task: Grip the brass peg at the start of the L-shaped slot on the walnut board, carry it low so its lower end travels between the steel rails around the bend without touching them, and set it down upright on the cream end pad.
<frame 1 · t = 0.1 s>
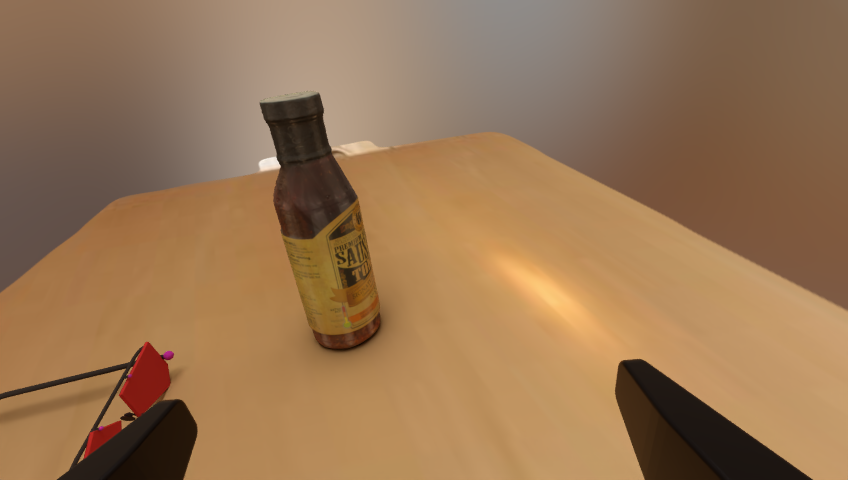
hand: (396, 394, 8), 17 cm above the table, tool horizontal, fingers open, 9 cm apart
sauce bottle: (349, 328, 37), on the table
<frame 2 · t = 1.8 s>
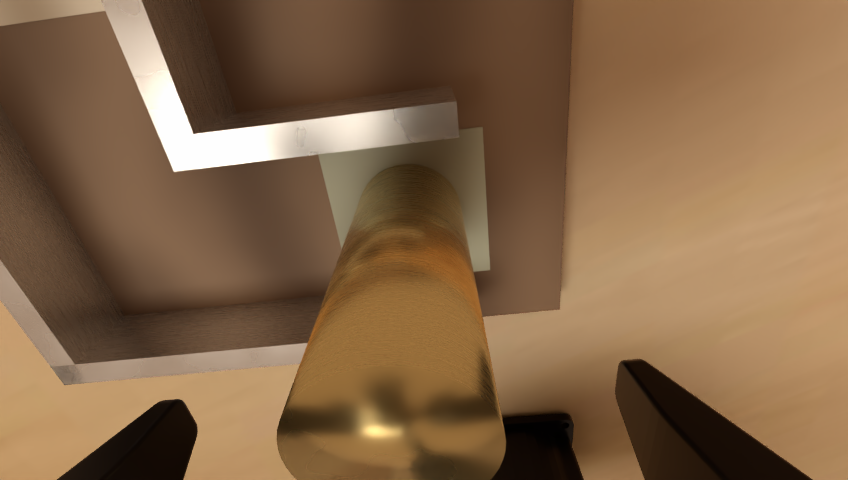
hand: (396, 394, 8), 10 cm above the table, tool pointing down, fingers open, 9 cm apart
brass peg: (409, 213, 16), point 1 cm above the table, touching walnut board
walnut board: (262, 105, 15), on the table
steel rails: (191, 117, 13), on the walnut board, point 3 cm above the table
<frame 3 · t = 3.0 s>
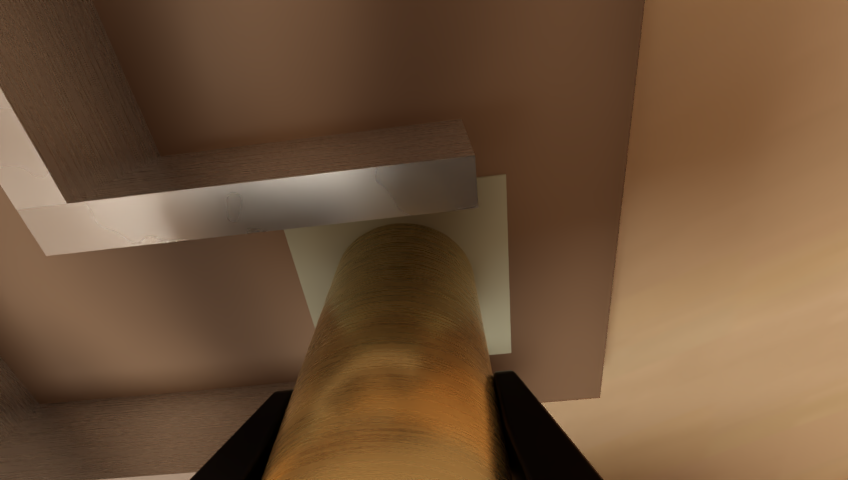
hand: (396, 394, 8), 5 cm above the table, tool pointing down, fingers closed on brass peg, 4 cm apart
brass peg: (405, 285, 12), point 1 cm above the table, touching gripper, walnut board
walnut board: (202, 141, 11), on the table
steel rails: (82, 169, 9), on the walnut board, point 3 cm above the table
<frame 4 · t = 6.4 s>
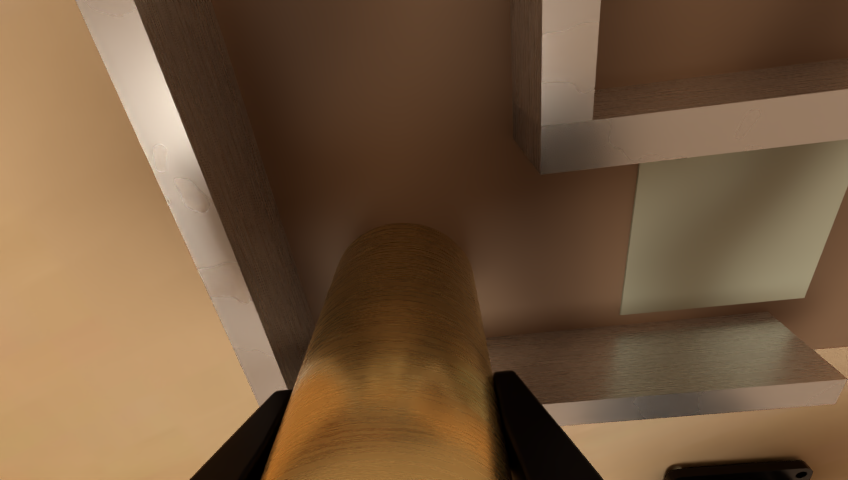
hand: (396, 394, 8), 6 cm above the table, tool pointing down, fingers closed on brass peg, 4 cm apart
brass peg: (405, 284, 12), point 3 cm above the table, touching gripper
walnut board: (557, 86, 12), on the table
steel rails: (535, 99, 9), on the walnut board, point 3 cm above the table
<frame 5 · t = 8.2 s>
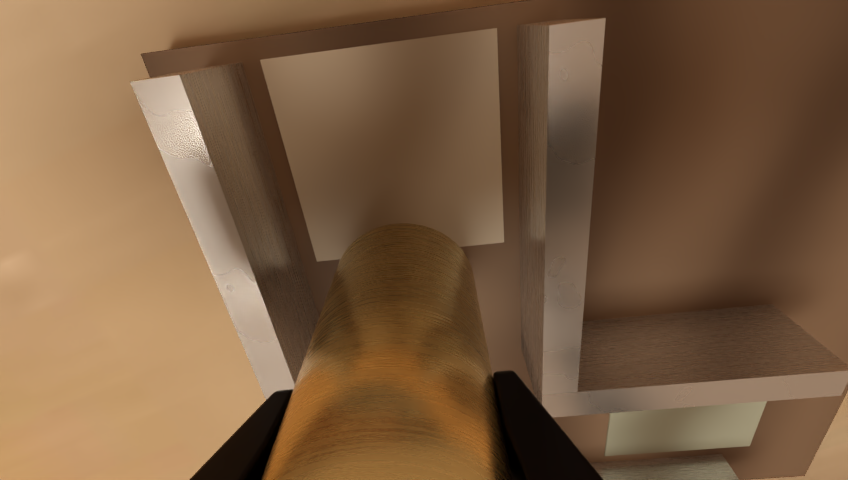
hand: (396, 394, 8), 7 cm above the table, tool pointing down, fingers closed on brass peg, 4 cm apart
brass peg: (405, 285, 12), point 3 cm above the table, touching gripper
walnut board: (554, 302, 15), on the table
steel rails: (538, 350, 13), on the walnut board, point 3 cm above the table
when the fingers open (6 cm above the table, at t = 9.8 s): brass peg stays where it is, resting on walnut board.
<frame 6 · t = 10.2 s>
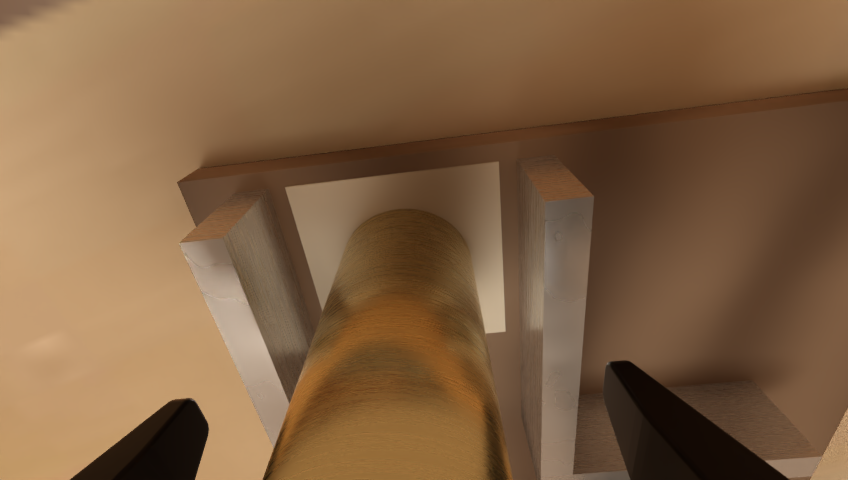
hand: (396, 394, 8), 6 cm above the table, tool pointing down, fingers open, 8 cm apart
brass peg: (407, 267, 13), point 1 cm above the table, touching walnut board
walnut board: (552, 372, 17), on the table
steel rails: (537, 429, 14), on the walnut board, point 3 cm above the table
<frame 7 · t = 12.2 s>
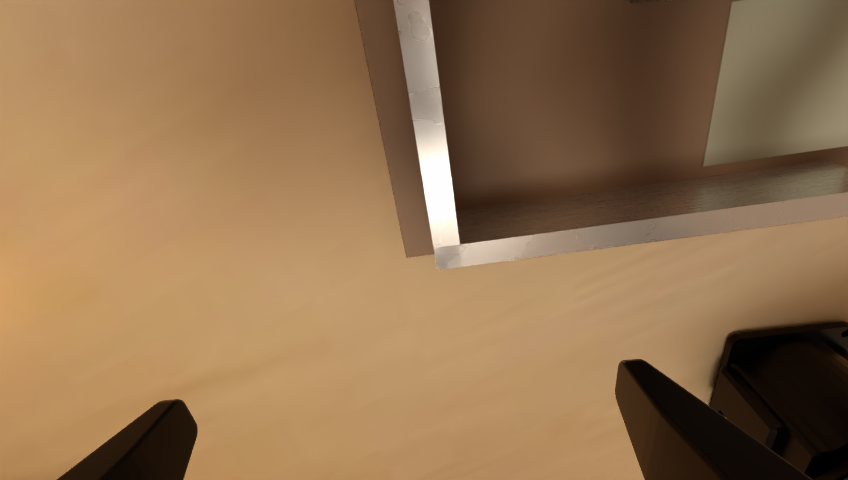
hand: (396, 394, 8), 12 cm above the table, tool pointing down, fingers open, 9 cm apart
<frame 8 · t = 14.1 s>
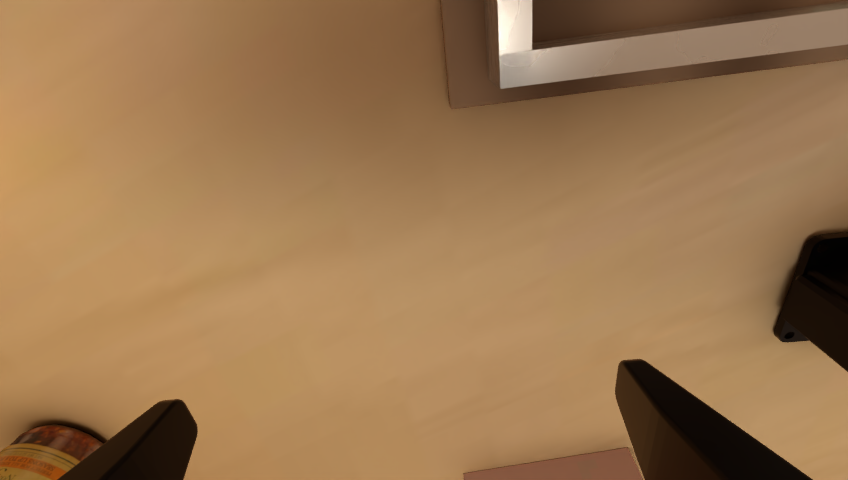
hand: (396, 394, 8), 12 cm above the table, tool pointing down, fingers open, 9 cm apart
greeting card: (553, 465, 29), on the table
sauce bottle: (71, 445, 28), on the table
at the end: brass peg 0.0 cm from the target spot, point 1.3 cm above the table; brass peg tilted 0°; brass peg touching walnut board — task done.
